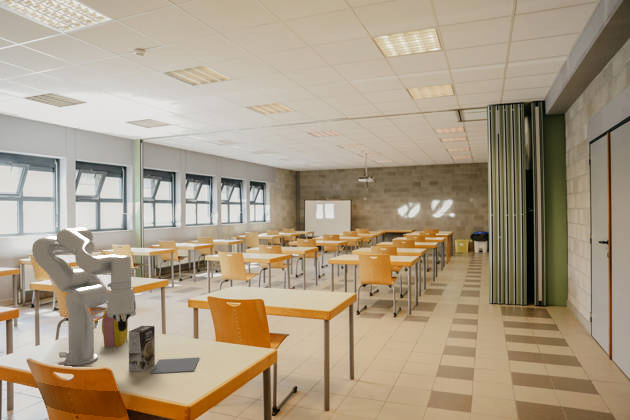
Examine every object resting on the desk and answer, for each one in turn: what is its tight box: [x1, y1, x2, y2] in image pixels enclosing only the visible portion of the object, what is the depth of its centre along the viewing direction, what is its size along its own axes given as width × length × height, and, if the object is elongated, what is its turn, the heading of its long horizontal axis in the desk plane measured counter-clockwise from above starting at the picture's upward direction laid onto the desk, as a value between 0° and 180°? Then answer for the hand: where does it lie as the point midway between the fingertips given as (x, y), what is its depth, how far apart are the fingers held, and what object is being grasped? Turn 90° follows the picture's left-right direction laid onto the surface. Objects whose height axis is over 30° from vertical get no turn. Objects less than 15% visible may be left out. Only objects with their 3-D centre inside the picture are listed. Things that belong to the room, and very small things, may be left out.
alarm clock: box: [101, 307, 129, 348], centre depth 206 cm, size 15×8×18 cm, turn 10°
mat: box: [149, 357, 200, 375], centre depth 174 cm, size 17×15×1 cm
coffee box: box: [128, 325, 156, 373], centre depth 173 cm, size 9×6×16 cm
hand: (122, 330), depth 172 cm, fingers closed
